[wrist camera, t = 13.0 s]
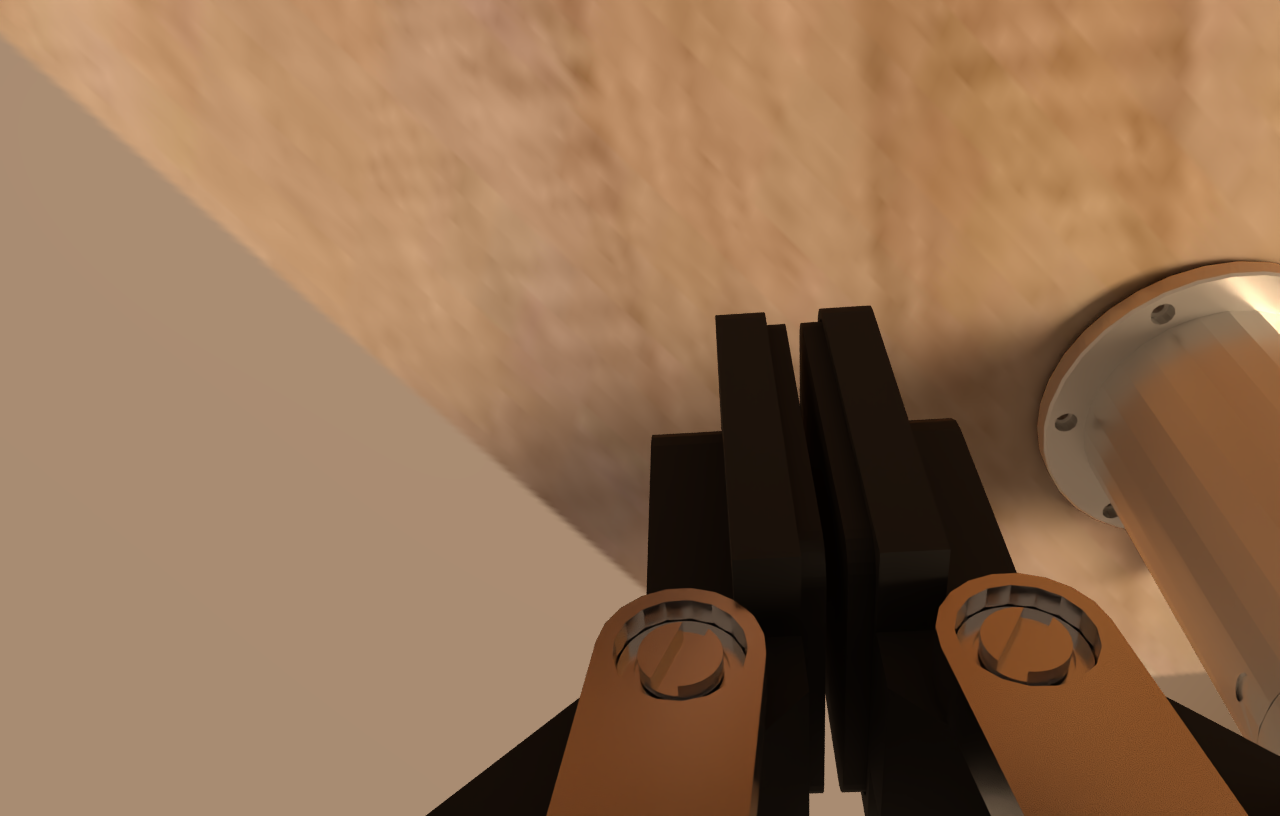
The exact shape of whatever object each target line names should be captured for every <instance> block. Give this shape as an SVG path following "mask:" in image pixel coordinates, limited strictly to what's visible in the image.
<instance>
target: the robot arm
mask: <svg viewBox="0 0 1280 816" xmlns="http://www.w3.org/2000/svg"><path fill="white" fill-rule="evenodd" d="M715 320H716V339H717V357H718V376H719V394H720V412H721V430H722V431H716V432H699V433H681V434H663V435H652V440H651V466H650V499H649V532H648V566H647V595H644V596H641V597H639V598H638V599H636V600H634V601H632V602H630V603H629V604H627V605H625V606H623V607H621V608H620V609H619V610H618V611H617V612H616V613H615V614H614V615H613V616H612V617H611V618H610V619H609V620H608V621H607V622H606V623H605V624H604V627H603V628H602V630H601V632H600V635H599V636H598V638H597V640H596V643H595V646H594V650H593V653H592V657H591V660H590V664H589V667H588V671H587V674H586V678H585V682H584V685H583V688H582V692H581V696H580V698H579V699H577V700H576V701H575V702H573V703H572V704H571V705H569V706H568V707H567V708H565V709H564V710H563V711H561V712H560V713H559V714H558V715H556V716H555V717H554V718H553V719H551V720H550V721H548V722H547V723H546V724H545V725H543V726H542V727H541V728H539V729H538V730H537V731H536V732H534V733H533V734H532V735H530V736H529V737H528V738H526V739H525V740H524V741H522V742H521V743H520V744H518V745H517V746H516V747H515V748H513V749H512V750H511V751H509V752H508V753H507V754H505V755H504V756H503V757H502V758H500V759H499V760H498V761H496V762H495V763H494V764H492V765H491V766H490V767H489V768H487V769H486V770H485V771H483V772H482V773H481V774H479V775H478V776H477V777H475V778H474V779H473V780H472V781H470V782H469V783H468V784H466V785H465V786H464V787H462V788H461V789H460V790H459V791H457V792H456V793H455V794H453V795H452V796H451V797H449V798H448V799H447V800H446V801H444V802H443V803H442V804H440V805H439V806H438V807H437V808H435V809H434V810H432V811H431V812H430V813H429V814H427V815H426V816H809V793H823V792H824V754H825V748H824V747H825V695H826V702H827V708H828V714H829V721H830V728H831V734H832V741H833V748H834V753H835V761H836V767H837V774H838V780H839V786H840V790H841V791H842V792H861V795H862V801H863V806H864V813H865V816H1280V264H1276V263H1272V262H1245V261H1237V262H1230V263H1222V264H1215V265H1208V266H1203V267H1199V268H1196V269H1193V270H1189V271H1186V272H1182V273H1179V274H1176V275H1172V276H1170V277H1167V278H1165V279H1163V280H1161V281H1159V282H1156V283H1154V284H1152V285H1150V286H1148V287H1145V288H1143V289H1141V290H1139V291H1137V292H1136V293H1134V294H1133V295H1131V296H1129V297H1128V298H1126V299H1125V300H1123V301H1122V302H1120V303H1118V304H1117V305H1115V306H1114V307H1112V308H1111V309H1109V310H1108V311H1107V312H1106V313H1104V314H1103V315H1102V316H1101V317H1100V318H1099V319H1097V320H1096V321H1095V322H1094V323H1093V324H1092V325H1091V326H1089V327H1088V328H1087V329H1086V330H1085V331H1084V332H1083V333H1082V334H1081V335H1080V336H1079V338H1078V339H1077V340H1076V341H1075V342H1074V343H1073V345H1072V346H1071V347H1070V348H1069V349H1068V350H1067V352H1066V353H1065V354H1064V355H1063V357H1062V359H1061V360H1060V362H1059V364H1058V365H1057V367H1056V369H1055V370H1054V372H1053V374H1052V375H1051V377H1050V379H1049V381H1048V384H1047V386H1046V389H1045V392H1044V395H1043V397H1042V400H1041V403H1040V408H1039V416H1038V424H1037V433H1038V442H1039V450H1040V453H1041V455H1042V458H1043V460H1044V463H1045V465H1046V468H1047V470H1048V472H1049V474H1050V476H1051V477H1052V479H1053V481H1054V483H1055V484H1056V486H1057V488H1058V490H1059V491H1060V492H1061V493H1062V494H1063V495H1064V496H1065V498H1066V499H1067V500H1068V501H1069V502H1070V503H1071V504H1072V505H1073V506H1074V507H1076V508H1077V509H1079V510H1080V511H1082V512H1084V513H1085V514H1087V515H1088V516H1090V517H1092V518H1093V519H1095V520H1098V521H1100V522H1103V523H1106V524H1109V525H1111V526H1114V527H1117V528H1122V529H1126V531H1127V533H1128V534H1129V536H1130V538H1131V540H1132V541H1133V543H1134V545H1135V547H1136V549H1137V550H1138V552H1139V554H1140V556H1141V557H1142V559H1143V561H1144V563H1145V564H1146V566H1147V568H1148V570H1149V572H1150V573H1151V575H1152V577H1153V579H1154V580H1155V582H1156V584H1157V586H1158V587H1159V589H1160V591H1161V593H1162V595H1163V596H1164V598H1165V600H1166V602H1167V603H1168V605H1169V607H1170V609H1171V610H1172V612H1173V614H1174V616H1175V618H1176V619H1177V621H1178V623H1179V625H1180V626H1181V628H1182V630H1183V632H1184V633H1185V635H1186V637H1187V639H1188V640H1189V642H1190V644H1191V646H1192V648H1193V649H1194V651H1195V653H1196V655H1197V656H1198V658H1199V660H1200V662H1201V663H1202V665H1203V667H1204V669H1205V671H1206V672H1207V674H1208V676H1209V677H1210V679H1211V681H1212V683H1213V685H1214V686H1215V688H1216V690H1217V692H1218V693H1219V695H1220V697H1221V699H1222V700H1223V702H1224V704H1225V706H1226V708H1227V709H1228V711H1229V713H1230V715H1231V717H1232V718H1233V720H1234V722H1235V724H1236V725H1237V727H1238V729H1239V731H1240V732H1241V734H1242V736H1243V737H1242V736H1240V735H1238V734H1236V733H1235V732H1232V731H1231V730H1229V729H1226V728H1225V727H1223V726H1221V725H1219V724H1217V723H1215V722H1213V721H1212V720H1210V719H1208V718H1206V717H1204V716H1202V715H1200V714H1198V713H1196V712H1194V711H1192V710H1190V709H1189V708H1187V707H1185V706H1183V705H1181V704H1179V703H1177V702H1175V701H1173V700H1171V699H1169V698H1167V697H1166V696H1165V695H1164V694H1163V692H1162V691H1161V690H1160V688H1159V687H1158V686H1157V684H1156V682H1155V681H1154V679H1153V678H1152V677H1151V675H1150V674H1149V672H1148V671H1147V669H1146V668H1145V667H1144V665H1143V664H1142V662H1141V661H1140V659H1139V658H1138V657H1137V655H1136V654H1135V652H1134V651H1133V649H1132V648H1131V646H1130V645H1129V644H1128V642H1127V641H1126V639H1125V638H1124V636H1123V635H1122V634H1121V632H1120V631H1119V629H1118V628H1117V626H1116V625H1115V623H1114V622H1113V621H1112V619H1111V618H1110V617H1109V616H1108V615H1107V614H1106V613H1105V612H1104V611H1103V610H1102V609H1101V608H1100V607H1099V606H1098V605H1097V603H1096V602H1094V601H1093V600H1091V599H1090V598H1088V597H1087V596H1085V595H1083V594H1082V593H1080V592H1079V591H1077V590H1076V589H1074V588H1072V587H1070V586H1067V585H1064V584H1062V583H1059V582H1056V581H1054V580H1051V579H1048V578H1045V577H1039V576H1033V575H1027V574H1021V573H1017V572H1016V570H1015V567H1014V565H1013V562H1012V559H1011V557H1010V554H1009V552H1008V549H1007V547H1006V544H1005V542H1004V539H1003V536H1002V534H1001V531H1000V529H999V526H998V524H997V521H996V519H995V516H994V513H993V511H992V508H991V506H990V503H989V501H988V498H987V496H986V493H985V491H984V488H983V485H982V483H981V480H980V478H979V475H978V473H977V470H976V468H975V465H974V462H973V460H972V457H971V455H970V452H969V450H968V447H967V445H966V442H965V439H964V437H963V434H962V432H961V429H960V427H959V425H958V424H957V422H956V420H954V419H952V418H946V419H929V420H911V421H909V420H908V417H907V414H906V411H905V408H904V404H903V401H902V398H901V395H900V392H899V389H898V386H897V383H896V380H895V377H894V374H893V371H892V368H891V364H890V361H889V358H888V355H887V352H886V349H885V346H884V343H883V340H882V337H881V334H880V331H879V328H878V324H877V321H876V318H875V315H874V312H873V309H872V307H871V306H855V307H839V308H823V309H819V312H818V322H809V323H801V324H800V404H799V398H798V392H797V387H796V381H795V376H794V370H793V364H792V359H791V353H790V347H789V342H788V336H787V331H786V326H785V324H778V325H767V323H766V317H765V313H764V312H761V313H745V314H730V315H715Z"/></svg>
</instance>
